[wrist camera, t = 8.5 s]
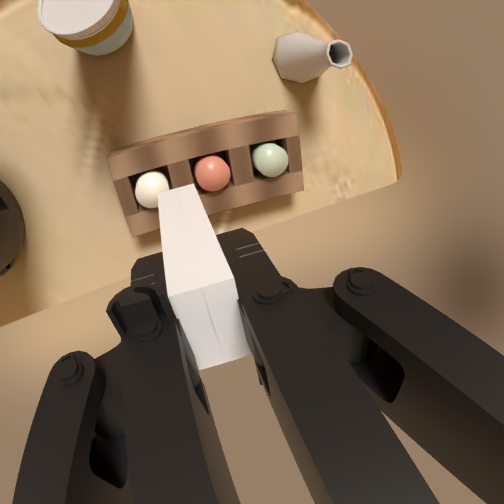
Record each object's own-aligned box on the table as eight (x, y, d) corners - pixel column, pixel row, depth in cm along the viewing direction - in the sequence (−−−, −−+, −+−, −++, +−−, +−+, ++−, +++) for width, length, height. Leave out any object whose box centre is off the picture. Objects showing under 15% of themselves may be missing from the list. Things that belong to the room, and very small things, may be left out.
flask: (324, 82, 37) (370, 87, 29) (274, 85, 35) (311, 88, 27) (320, 32, 33) (366, 24, 25) (268, 31, 31) (304, 19, 23)
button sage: (250, 171, 39) (259, 180, 36) (246, 143, 37) (255, 149, 34) (279, 165, 40) (289, 173, 37) (275, 137, 38) (286, 143, 35)
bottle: (141, 41, 28) (133, 14, 16) (85, 66, 27) (44, 57, 15) (125, -7, 24) (111, -55, 12) (69, 18, 23) (24, -13, 11)
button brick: (196, 185, 38) (200, 195, 35) (189, 156, 36) (193, 163, 33) (226, 177, 38) (233, 186, 36) (220, 148, 36) (227, 155, 33)
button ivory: (141, 201, 37) (140, 212, 34) (132, 172, 34) (131, 181, 32) (170, 192, 37) (172, 202, 34) (163, 163, 35) (164, 171, 32)
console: (133, 222, 39) (132, 237, 36) (110, 151, 34) (106, 158, 30) (291, 180, 43) (303, 190, 40) (283, 110, 37) (296, 113, 34)
